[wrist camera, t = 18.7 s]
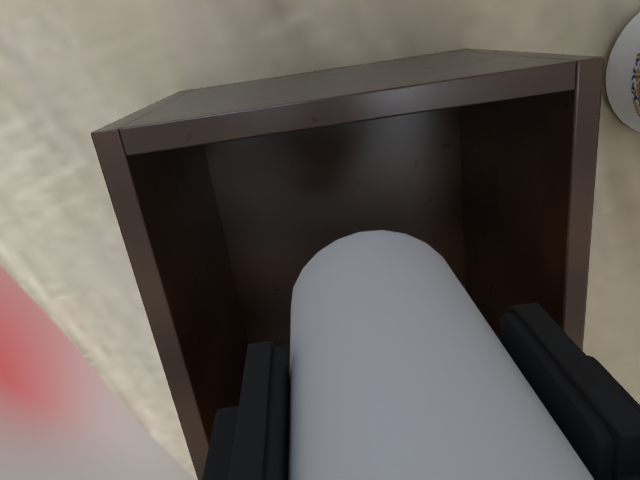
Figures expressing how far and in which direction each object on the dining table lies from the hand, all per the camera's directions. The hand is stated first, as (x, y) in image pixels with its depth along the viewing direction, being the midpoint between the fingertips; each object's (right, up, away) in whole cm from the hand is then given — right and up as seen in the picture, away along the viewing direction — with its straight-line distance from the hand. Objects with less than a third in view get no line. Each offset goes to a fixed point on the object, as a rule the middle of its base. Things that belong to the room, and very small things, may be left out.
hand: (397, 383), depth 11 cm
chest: (0, +5, +17) cm, 17 cm away
